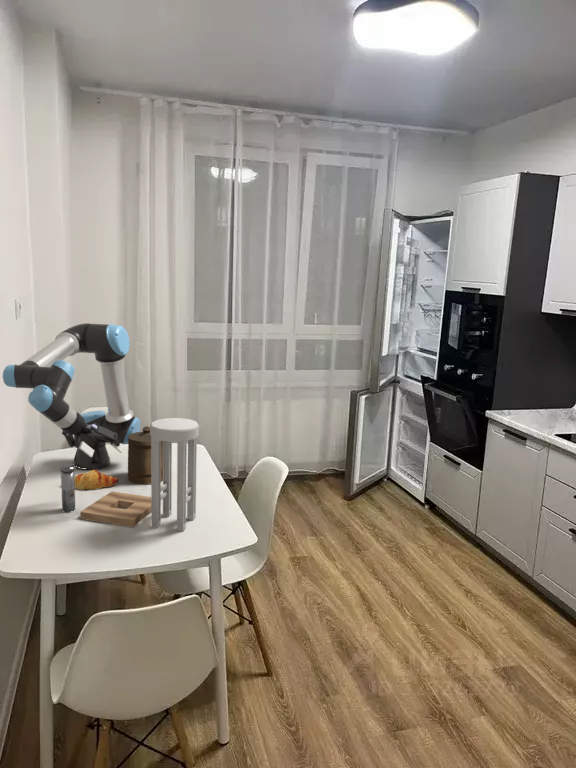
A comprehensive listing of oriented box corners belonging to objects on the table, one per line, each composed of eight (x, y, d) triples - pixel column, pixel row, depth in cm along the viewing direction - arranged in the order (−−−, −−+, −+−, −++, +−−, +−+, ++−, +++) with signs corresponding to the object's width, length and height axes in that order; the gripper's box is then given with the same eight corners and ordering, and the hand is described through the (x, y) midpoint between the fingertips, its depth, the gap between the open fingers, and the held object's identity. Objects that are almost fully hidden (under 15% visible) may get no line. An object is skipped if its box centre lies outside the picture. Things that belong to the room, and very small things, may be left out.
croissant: (61, 497, 222) (58, 483, 217) (66, 478, 229) (63, 464, 224) (118, 495, 225) (116, 481, 220) (120, 476, 233) (118, 462, 228)
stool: (203, 516, 202) (204, 420, 195) (186, 534, 187) (187, 431, 180) (162, 510, 205) (162, 415, 198) (142, 528, 190) (142, 426, 183)
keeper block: (112, 497, 215) (111, 491, 214) (160, 504, 210) (160, 498, 209) (80, 518, 196) (80, 511, 195) (133, 527, 191) (133, 520, 190)
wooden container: (168, 473, 243) (168, 423, 239) (159, 485, 229) (159, 432, 225) (134, 471, 244) (133, 421, 240) (123, 483, 229) (122, 430, 225)
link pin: (66, 506, 205) (65, 463, 202) (79, 508, 204) (78, 465, 201) (57, 511, 200) (56, 468, 197) (70, 513, 199) (69, 469, 196)
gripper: (36, 433, 193) (76, 464, 208) (94, 424, 184) (132, 457, 199) (44, 415, 198) (83, 446, 213) (101, 405, 188) (138, 438, 204)
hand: (107, 451), depth 206 cm, fingers open, 13 cm apart
